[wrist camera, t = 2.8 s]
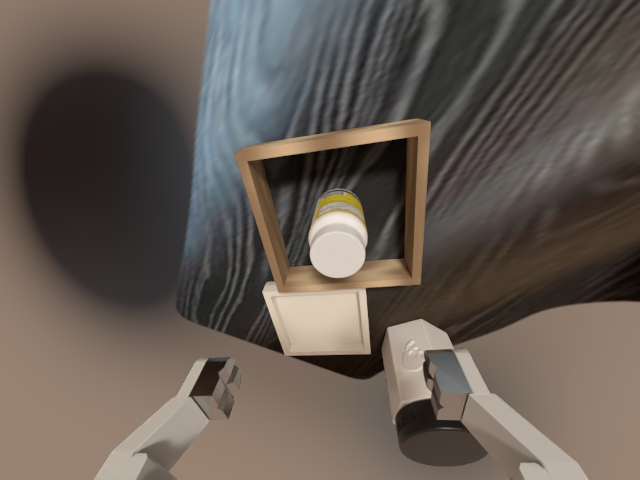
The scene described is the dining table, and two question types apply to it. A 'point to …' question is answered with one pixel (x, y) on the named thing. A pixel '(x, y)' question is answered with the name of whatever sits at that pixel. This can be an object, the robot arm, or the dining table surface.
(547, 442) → the robot arm
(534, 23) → the dining table surface
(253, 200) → the frame
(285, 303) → the tray
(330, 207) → the supplement bottle
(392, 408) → the jar
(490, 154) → the dining table surface
